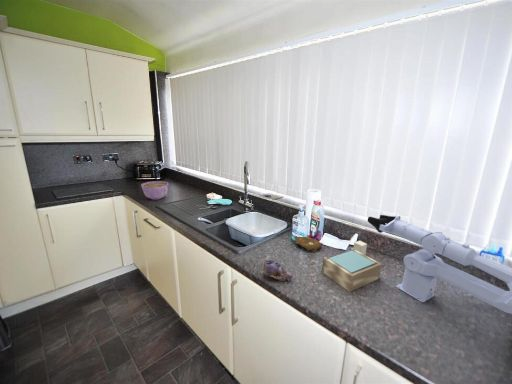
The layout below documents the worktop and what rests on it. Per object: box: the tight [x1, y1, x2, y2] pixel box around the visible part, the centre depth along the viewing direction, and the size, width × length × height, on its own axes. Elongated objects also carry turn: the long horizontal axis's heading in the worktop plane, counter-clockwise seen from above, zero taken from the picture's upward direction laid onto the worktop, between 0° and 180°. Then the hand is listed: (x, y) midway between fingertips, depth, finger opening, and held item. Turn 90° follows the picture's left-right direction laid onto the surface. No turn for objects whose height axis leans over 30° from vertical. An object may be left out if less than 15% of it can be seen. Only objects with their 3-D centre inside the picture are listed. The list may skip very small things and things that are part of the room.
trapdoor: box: [329, 250, 375, 274], centre depth 95 cm, size 11×14×1 cm
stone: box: [352, 240, 368, 256], centre depth 112 cm, size 4×4×6 cm
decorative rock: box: [294, 235, 323, 253], centre depth 119 cm, size 11×4×15 cm
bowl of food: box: [140, 180, 169, 201], centre depth 187 cm, size 20×20×12 cm
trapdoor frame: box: [321, 247, 383, 293], centre depth 95 cm, size 14×17×7 cm
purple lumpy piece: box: [262, 259, 294, 282], centre depth 93 cm, size 12×8×6 cm, turn 56°
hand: (374, 218), depth 99 cm, fingers open, 7 cm apart
